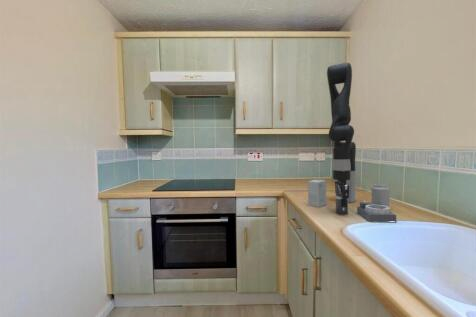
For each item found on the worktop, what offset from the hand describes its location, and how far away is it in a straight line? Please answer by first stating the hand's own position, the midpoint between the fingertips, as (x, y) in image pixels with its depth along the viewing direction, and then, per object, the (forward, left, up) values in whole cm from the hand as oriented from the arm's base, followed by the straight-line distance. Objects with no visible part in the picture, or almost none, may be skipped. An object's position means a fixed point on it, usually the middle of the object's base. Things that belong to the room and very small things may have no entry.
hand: (341, 205), depth 110 cm
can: (-8, +20, -4) cm, 22 cm away
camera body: (+6, +12, -4) cm, 14 cm away
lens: (0, 0, -4) cm, 4 cm away
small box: (-16, -8, -4) cm, 18 cm away
